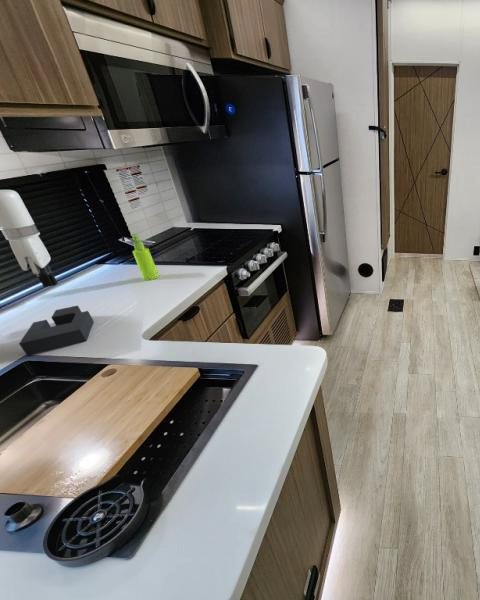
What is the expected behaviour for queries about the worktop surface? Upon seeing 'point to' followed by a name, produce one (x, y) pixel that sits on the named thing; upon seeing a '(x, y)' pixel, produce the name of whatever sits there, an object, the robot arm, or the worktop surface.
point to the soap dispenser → (144, 260)
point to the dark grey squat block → (65, 315)
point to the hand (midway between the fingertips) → (51, 285)
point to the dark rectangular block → (56, 334)
